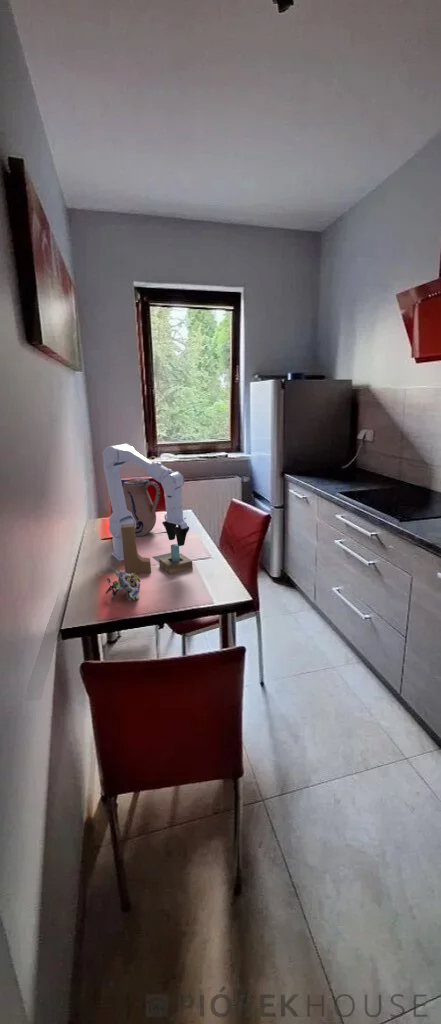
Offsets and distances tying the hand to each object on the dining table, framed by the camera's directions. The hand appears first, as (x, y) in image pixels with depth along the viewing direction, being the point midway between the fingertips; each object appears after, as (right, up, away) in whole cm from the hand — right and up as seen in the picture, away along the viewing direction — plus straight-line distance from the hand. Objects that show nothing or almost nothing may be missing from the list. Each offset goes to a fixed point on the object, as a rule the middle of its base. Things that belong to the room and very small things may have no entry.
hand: (176, 542), depth 155 cm
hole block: (0, -10, 0) cm, 10 cm away
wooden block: (-13, -11, -2) cm, 17 cm away
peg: (0, -10, 0) cm, 10 cm away
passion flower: (-14, -16, -21) cm, 30 cm away
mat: (-5, -7, +10) cm, 13 cm away
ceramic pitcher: (-20, +1, +41) cm, 46 cm away
